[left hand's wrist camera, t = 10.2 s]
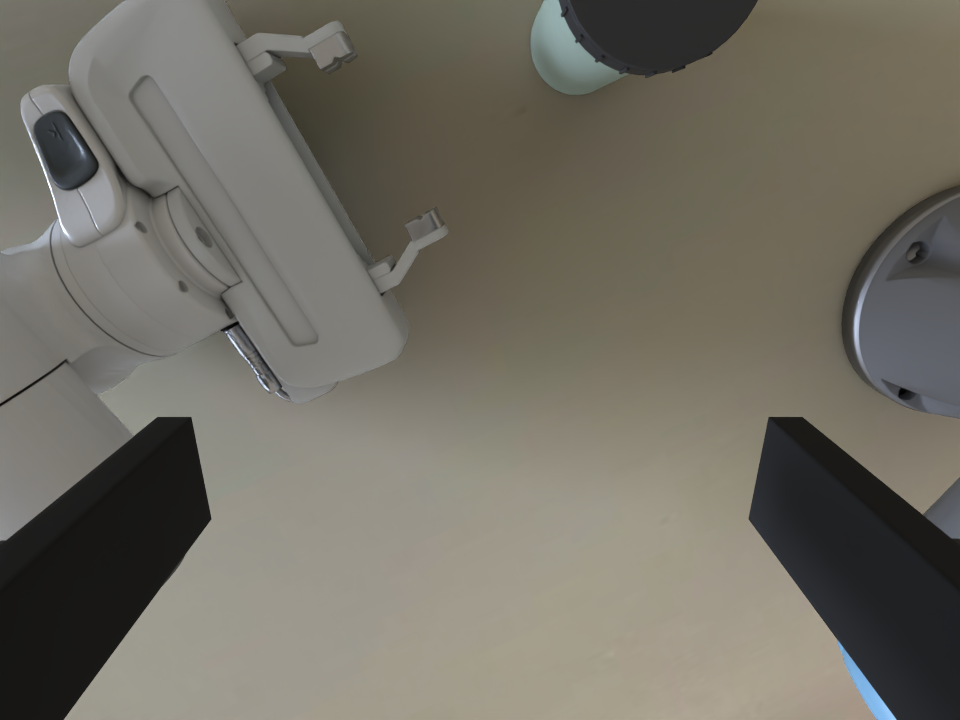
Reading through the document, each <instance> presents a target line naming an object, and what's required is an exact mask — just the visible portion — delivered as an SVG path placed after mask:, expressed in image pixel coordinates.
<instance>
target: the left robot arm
mask: <svg viewBox="0 0 960 720" xmlns="http://www.w3.org/2000/svg"><path fill="white" fill-rule="evenodd" d="M842 336H843V342H844V346H845V350H846V353H847V356H848V358H849V361H850V362H851V364H852V366H853V368H854V369H855V371H856V372H857V373H858V375H859V376H860V377H861V378H862V379H863V380H864V381H865V382H866V383H867V384H868V385H869V386H871V387H872V388H873V389H875V390H876V391H878V392H880V393H881V394H883V395H885V396H886V397H888V398H890V399H891V400H893V401H895V402H896V403H898V404H901V405H903V406H905V407H908V408H910V409H913V410H917V411H921V412H926V413H931V414H937V415H942V416H948V417H954V418H960V186H956V187H953V188H951V189H948V190H945V191H942V192H940V193H938V194H936V195H934V196H931V197H930V198H928V199H926V200H924V201H922V202H921V203H919V204H917V205H916V206H914V207H913V208H911V209H910V210H908V211H907V212H906V213H904V214H903V215H902V216H901V217H899V218H898V219H897V220H896V221H895V222H893V223H892V224H891V225H890V226H889V227H888V228H887V229H886V230H885V231H884V232H883V233H882V234H881V235H880V236H879V237H878V239H877V240H876V241H875V242H874V244H873V245H872V246H871V247H870V249H869V250H868V252H867V253H866V254H865V256H864V257H863V259H862V261H861V262H860V264H859V266H858V267H857V269H856V271H855V273H854V276H853V278H852V280H851V282H850V285H849V288H848V290H847V294H846V298H845V301H844V307H843V313H842ZM210 520H211V514H210V509H209V504H208V499H207V494H206V489H205V484H204V479H203V474H202V469H201V464H200V459H199V454H198V449H197V444H196V439H195V434H194V429H193V423H192V418H191V417H157V418H156V419H155V420H153V421H152V422H151V423H150V424H148V425H147V426H146V427H145V428H144V429H142V430H141V431H140V432H139V433H137V434H136V435H135V436H134V437H133V438H131V439H130V440H129V441H128V442H126V443H125V444H124V445H123V446H121V447H120V448H119V449H118V450H117V451H115V452H114V453H113V454H112V455H110V456H109V457H108V458H107V459H105V460H104V461H103V462H102V463H101V464H99V465H98V466H97V467H96V468H94V469H93V470H92V471H91V472H89V473H88V474H87V475H86V476H85V477H83V478H82V479H81V480H80V481H78V482H77V483H76V484H75V485H74V486H72V487H71V488H70V489H69V490H67V491H66V492H65V493H64V494H62V495H61V496H60V497H59V498H58V499H56V500H55V501H54V502H53V503H51V504H50V505H49V506H48V507H46V508H45V509H44V510H43V511H42V512H40V513H39V514H38V515H37V516H35V517H34V518H33V519H32V520H30V521H29V522H28V523H27V524H26V525H24V526H23V527H22V528H21V529H19V530H18V531H17V532H16V533H15V534H13V535H12V536H11V537H10V538H8V539H7V540H1V541H0V720H64V718H65V717H66V716H67V714H68V713H69V711H70V710H71V709H72V707H73V706H74V705H75V703H76V702H77V701H78V699H79V698H80V697H81V695H82V694H83V693H84V691H85V690H86V688H87V687H88V686H89V684H90V683H91V682H92V680H93V679H94V678H95V676H96V675H97V674H98V672H99V671H100V669H101V668H102V667H103V665H104V664H105V663H106V661H107V660H108V659H109V657H110V656H111V655H112V653H113V652H114V650H115V649H116V648H117V646H118V645H119V644H120V642H121V641H122V640H123V638H124V637H125V636H126V634H127V633H128V631H129V630H130V629H131V627H132V626H133V625H134V623H135V622H136V621H137V619H138V618H139V617H140V615H141V614H142V612H143V611H144V610H145V608H146V607H147V606H148V604H149V603H150V602H151V600H152V599H153V598H154V596H155V595H156V594H157V592H158V591H159V589H160V588H161V587H162V585H163V584H164V583H165V581H166V580H167V579H168V577H169V576H170V575H171V573H172V572H173V570H174V569H175V568H176V566H177V565H178V564H179V562H180V561H181V560H182V558H183V557H184V556H185V554H186V553H187V551H188V550H189V549H190V547H191V546H192V545H193V543H194V542H195V541H196V539H197V538H198V537H199V535H200V534H201V532H202V531H203V530H204V528H205V527H206V526H207V524H208V523H209V522H210ZM749 520H750V522H751V523H752V524H753V526H754V527H755V528H756V530H757V531H758V532H759V534H760V535H761V537H762V538H763V539H764V541H765V542H766V543H767V545H768V546H769V547H770V549H771V550H772V551H773V553H774V554H775V556H776V557H777V558H778V560H779V561H780V562H781V564H782V565H783V566H784V568H785V569H786V570H787V572H788V573H789V575H790V576H791V577H792V579H793V580H794V581H795V583H796V584H797V585H798V587H799V588H800V589H801V591H802V592H803V594H804V595H805V596H806V598H807V599H808V600H809V602H810V603H811V604H812V606H813V607H814V608H815V610H816V611H817V612H818V614H819V615H820V617H821V618H822V619H823V621H824V622H825V623H826V625H827V626H828V627H829V629H830V630H831V631H832V633H833V634H834V636H835V637H836V638H837V641H838V645H839V648H840V650H841V652H842V655H843V659H844V661H845V665H846V667H847V669H848V672H849V674H850V676H851V678H852V680H853V682H854V683H855V685H856V687H857V689H858V691H859V692H860V694H861V696H862V697H863V699H864V701H865V702H866V704H867V705H868V707H869V708H870V710H871V711H872V713H873V714H874V716H875V717H876V719H877V720H960V478H959V479H958V480H957V481H956V482H955V483H954V484H953V485H952V486H951V487H950V488H949V489H948V490H947V491H946V492H945V493H944V494H943V495H942V496H941V497H940V498H939V499H938V500H937V501H936V502H935V503H934V504H933V505H932V506H931V507H930V508H929V509H928V510H927V511H926V512H925V513H924V514H923V515H922V514H921V513H920V512H918V511H917V510H916V509H915V508H914V507H912V506H911V505H910V504H909V503H907V502H906V501H905V500H904V499H902V498H901V497H900V496H899V495H898V494H896V493H895V492H894V491H893V490H891V489H890V488H889V487H888V486H886V485H885V484H884V483H883V482H882V481H880V480H879V479H878V478H877V477H875V476H874V475H873V474H872V473H871V472H869V471H868V470H867V469H866V468H864V467H863V466H862V465H861V464H859V463H858V462H857V461H856V460H855V459H853V458H852V457H851V456H850V455H848V454H847V453H846V452H845V451H843V450H842V449H841V448H840V447H839V446H837V445H836V444H835V443H834V442H832V441H831V440H830V439H829V438H827V437H826V436H825V435H824V434H823V433H821V432H820V431H819V430H818V429H816V428H815V427H814V426H813V425H812V424H810V423H809V422H808V421H807V420H805V419H804V418H803V417H769V418H768V423H767V429H766V434H765V439H764V444H763V449H762V454H761V459H760V464H759V469H758V474H757V479H756V484H755V489H754V494H753V499H752V504H751V509H750V514H749Z"/></svg>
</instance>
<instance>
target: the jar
mask: <svg viewBox="0 0 960 720" xmlns="http://www.w3.org/2000/svg"><path fill="white" fill-rule="evenodd" d="M561 13H562V10H561V7H560V4H559V0H544V1H543V3H542V6H541V8H540V10H539V12H538V14H537V16H536V18H535V21H534V24H533V27H532V31H531V41H530V47H531V55H532V59H533V62H534V65H535V67H536V69H537V71H538V73H539V75H540V76H541V78H542V79H543V80H544V81H545V82H546V83H547V84H548V85H549V86H550V87H552V88H553V89H555V90H557V91H559V92H561V93H565V94H569V95H583V94H588V93H591V92H593V91H596V90H598V89H600V88H602V87H604V86H606V85H608V84H610V83H612V82H614V81H616V80H618V79H620V78H622V77H624V76H627V75H629V74H628V73H623V74H619V71H617V70H614V69H612V68H610V67H608V66H606V65H604V64H602V63H601V62H598V63H596V62H595V60H596V59H595V58H594V57H592V56H591V55H590V54H589V53H588V52H587V51H586V50H585V49H584V48H583V47H582V46H581V45H580V43H579V42H578V43H577V44H576V42H575V40H576V38H575V37H574V35H573V34H572V32H571V30H570V29H569V27H568V25H567V22H566V20H565V18H564V17H561Z"/></svg>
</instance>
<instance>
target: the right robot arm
mask: <svg viewBox="0 0 960 720" xmlns="http://www.w3.org/2000/svg"><path fill="white" fill-rule="evenodd" d="M357 56H358V54H357V52H356V50H355V48H354V46H353V44H352V42H351V40H350V38H349V36H348V34H347V32H346V30H345V28H344V27H343V25H342V24H341V23H340V22H339V21H338V20H337V21H332V22H330V23H328V24H326V25H324V26H323V27H321V28H319V29H318V30H316V31H314V32H313V33H311V34H309V35H308V36H306V37H302V36H298V35H284V34H271V33H256V34H254V35H253V36H251V37H249V38H248V39H246V37H245V35H244V34H243V32H242V30H241V28H240V27H239V25H238V23H237V21H236V20H235V18H234V16H233V14H232V13H231V11H230V9H229V7H228V6H227V4H226V2H225V1H224V0H124V1H123V2H122V3H120V4H119V5H118V6H117V7H115V8H114V9H113V10H112V11H111V12H109V13H108V14H107V15H106V16H105V17H104V18H102V19H101V20H100V21H99V22H98V23H97V24H96V25H95V26H94V27H93V28H92V29H91V30H90V31H89V32H88V33H87V34H86V35H85V36H84V37H83V38H82V39H81V40H80V42H79V43H78V44H77V46H76V47H75V49H74V51H73V53H72V56H71V58H70V63H69V70H68V75H69V83H70V85H68V84H48V85H41V86H38V87H36V88H34V89H32V90H31V91H29V92H28V93H27V94H25V95H24V96H23V98H22V99H21V102H20V110H21V115H22V118H23V121H24V124H25V126H26V129H27V131H28V134H29V136H30V138H31V141H32V143H33V146H34V148H35V151H36V153H37V155H38V158H39V161H40V163H41V166H42V168H43V171H44V174H45V176H46V179H47V182H48V185H49V188H50V191H51V194H52V197H53V200H54V203H55V207H56V211H57V214H58V218H57V219H56V220H55V221H54V222H53V223H52V225H51V226H50V227H49V228H48V229H47V230H46V231H45V233H44V234H43V235H42V236H41V237H40V238H39V239H37V240H36V241H34V242H32V243H29V244H24V245H19V246H14V247H11V248H8V249H5V250H3V251H1V252H0V541H1V540H7V539H8V538H10V537H11V536H12V535H13V534H15V533H16V532H17V531H18V530H19V529H21V528H22V527H23V526H24V525H26V524H27V523H28V522H29V521H30V520H32V519H33V518H34V517H35V516H37V515H38V514H39V513H40V512H42V511H43V510H44V509H45V508H46V507H48V506H49V505H50V504H51V503H53V502H54V501H55V500H56V499H58V498H59V497H60V496H61V495H62V494H64V493H65V492H66V491H67V490H69V489H70V488H71V487H72V486H74V485H75V484H76V483H77V482H78V481H80V480H81V479H82V478H83V477H85V476H86V475H87V474H88V473H89V472H91V471H92V470H93V469H94V468H96V467H97V466H98V465H99V464H101V463H102V462H103V461H104V460H105V459H107V458H108V457H109V456H110V455H112V454H113V453H114V452H115V451H117V450H118V449H119V448H120V447H121V446H123V445H124V444H125V443H126V442H128V441H129V440H130V439H131V438H133V437H134V435H133V434H132V433H131V432H130V431H129V430H128V429H127V428H126V427H125V426H124V424H123V423H122V422H121V421H120V420H119V419H118V418H117V417H116V416H115V415H114V414H113V413H112V411H111V410H110V409H109V408H108V407H107V406H106V405H105V404H104V403H103V402H102V401H101V399H100V398H99V397H98V396H97V395H98V394H100V393H102V392H104V391H106V390H108V389H110V388H112V387H114V386H116V385H117V384H119V383H120V382H122V381H123V380H124V379H126V378H127V377H128V376H129V375H130V374H131V373H132V371H133V370H134V369H135V368H136V367H137V366H139V365H140V364H142V363H145V362H149V361H155V360H160V359H164V358H167V357H169V356H172V355H174V354H177V353H178V352H180V351H182V350H184V349H186V348H188V347H189V346H191V345H193V344H195V343H197V342H199V341H201V340H203V339H205V338H207V337H208V336H210V335H213V334H215V333H216V332H218V331H219V330H221V331H223V332H224V333H225V335H226V336H227V337H228V339H229V340H230V342H231V343H232V344H233V346H234V347H235V349H236V350H237V352H238V353H239V354H240V355H241V357H243V359H244V360H245V361H247V363H248V364H249V365H250V367H251V368H253V369H252V370H253V371H254V373H255V374H256V378H257V380H258V381H259V383H260V384H261V386H262V387H263V388H264V389H265V390H266V391H267V392H268V393H270V394H271V393H274V392H275V393H276V394H277V395H278V396H280V397H281V398H283V399H284V400H287V401H289V402H293V403H296V404H302V403H306V402H309V401H312V400H314V399H316V398H318V397H320V396H322V395H324V394H326V393H328V392H330V391H331V390H332V389H333V388H334V387H335V386H336V385H337V383H338V382H339V381H341V380H344V379H347V378H351V377H354V376H357V375H359V374H362V373H365V372H367V371H370V370H373V369H375V368H378V367H380V366H382V365H385V364H387V363H389V362H391V361H393V360H395V359H396V358H397V357H398V356H399V355H400V354H401V352H402V351H403V349H404V347H405V344H406V342H407V338H408V334H409V330H410V323H409V321H408V319H407V317H406V316H405V314H404V312H403V310H402V309H401V307H400V305H399V303H398V302H397V300H396V298H395V296H394V295H393V293H392V291H391V288H393V287H395V286H397V285H399V284H400V283H401V281H402V279H403V278H404V276H405V275H406V273H407V271H408V270H409V268H410V267H411V265H412V263H413V262H414V260H415V258H416V257H417V255H418V254H419V252H420V250H421V249H422V248H424V247H426V246H428V245H430V244H432V243H433V242H435V241H437V240H439V239H441V238H443V237H444V236H446V235H447V234H448V233H449V230H448V228H447V226H446V224H445V222H444V220H443V218H442V216H441V215H440V213H439V211H438V209H437V207H435V208H432V209H430V210H429V211H427V212H426V213H425V214H424V215H423V216H417V217H415V218H414V219H412V220H410V221H408V222H407V223H406V224H405V227H406V229H407V230H408V232H409V234H410V236H411V238H412V240H411V241H410V243H409V244H408V246H407V248H406V249H405V251H404V253H403V254H402V256H401V258H400V259H399V261H398V263H397V264H395V263H396V261H395V259H394V257H393V256H391V255H389V256H387V257H385V258H384V259H382V260H380V261H378V262H376V263H375V262H374V260H373V258H372V256H371V255H370V253H369V251H368V249H367V248H366V246H365V244H364V242H363V241H362V239H361V237H360V235H359V234H358V232H357V230H356V228H355V227H354V225H353V223H352V222H351V220H350V218H349V216H348V215H347V213H346V211H345V209H344V208H343V206H342V204H341V202H340V201H339V199H338V197H337V195H336V194H335V192H334V190H333V188H332V187H331V185H330V183H329V181H328V180H327V178H326V176H325V175H324V173H323V171H322V169H321V168H320V166H319V164H318V162H317V161H316V159H315V157H314V155H313V154H312V152H311V150H310V148H309V147H308V145H307V143H306V141H305V140H304V138H303V136H302V134H301V133H300V131H299V129H298V128H297V126H296V124H295V122H294V121H293V119H292V117H291V115H290V114H289V112H288V110H287V108H286V107H285V105H284V103H283V101H282V100H281V98H280V96H279V94H278V93H277V91H276V89H275V87H274V86H273V84H272V82H271V81H270V80H271V79H273V78H274V77H276V76H277V75H279V74H281V73H282V72H284V71H285V70H286V68H287V67H286V65H285V63H284V61H283V60H282V59H280V58H281V57H294V58H313V59H315V61H316V63H317V65H318V66H319V68H320V70H322V71H325V72H326V73H328V74H331V73H332V72H334V71H336V70H338V69H339V68H341V65H342V63H343V62H344V63H349V62H351V61H353V60H354V59H355V58H357ZM282 387H283V388H284V389H285V391H286V392H287V393H286V392H285V391H283V390H282V389H281V388H282ZM183 558H184V557H183ZM183 558H182V560H183ZM182 560H181V561H180V562H179V564H178V565H177V566H176V568H175V569H174V570H173V572H172V573H171V575H172V574H173V573H174V572H175V570H176V569H177V568H178V566H179V565H180V563H181V562H182ZM171 575H170V576H169V577H168V579H169V578H170V577H171ZM168 579H167V580H168ZM167 580H166V581H167ZM166 581H165V582H166ZM164 584H165V583H164ZM164 584H163V585H164ZM163 585H162V586H163Z"/></svg>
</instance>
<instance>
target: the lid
mask: <svg viewBox="0 0 960 720" xmlns="http://www.w3.org/2000/svg"><path fill="white" fill-rule="evenodd" d="M757 1H758V0H559V4H560V7H561V10H562V13H561V17H564V18H565V20H566V22H567V25H568V27H569V29H570V30H571V32H572V34H573V35H574V37H575V38H576V40H575V42H576V44H577V43H578V42H579V43H580V45H581V46H582V47H583V48H584V49H585V50H586V51H587V52H588V53H589V54H590V55H591V56H592V57H594V58H595V59H596V60H595V62H596V63H598V62H601V63H602V64H604V65H606V66H608V67H610V68H612V69H614V70H617V71H619V74H623V73H628V74H635V75H645V78H648V77H650V76H653V75H655V74H660V73H665V72H668V71H671V70H672V73H674V72H676V71H679V70H682V69H684V68H685V65H687V64H690V63H692V62H694V61H696V60H699V59H702V58H704V57H707V56H709V55H711V54H712V52H713V51H714V50H716V49H717V48H718V47H720V46H721V45H722V44H723V43H725V42H726V41H727V40H728V39H729V38H730V37H731V36H732V35H733V34H734V33H735V32H736V31H737V30H738V29H739V27H740V26H741V25H742V24H743V22H744V21H745V20H746V19H747V17H748V16H749V14H750V12H751V11H752V9H753V8H754V6H755V5H756V3H757Z"/></svg>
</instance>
